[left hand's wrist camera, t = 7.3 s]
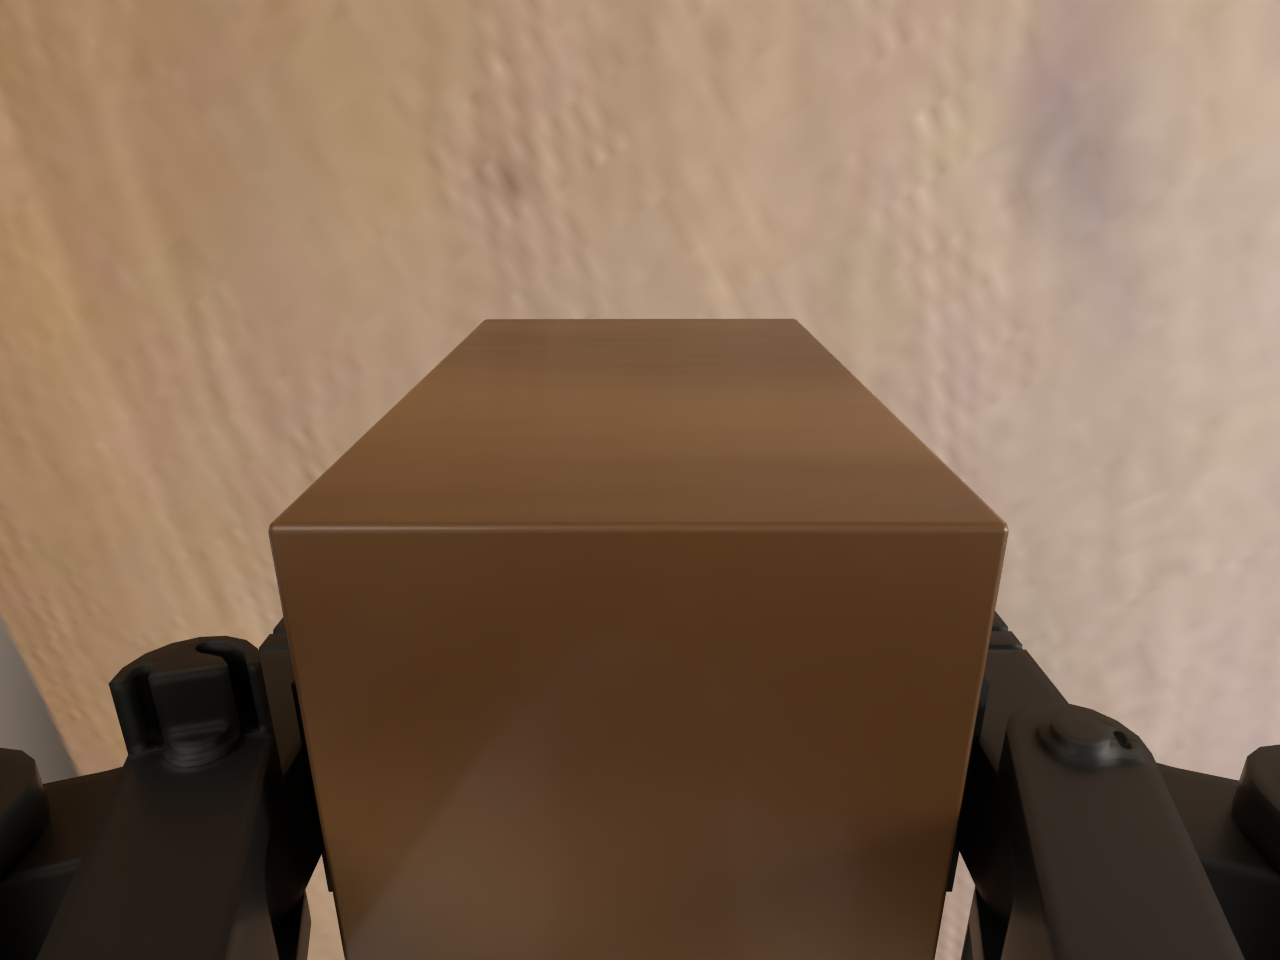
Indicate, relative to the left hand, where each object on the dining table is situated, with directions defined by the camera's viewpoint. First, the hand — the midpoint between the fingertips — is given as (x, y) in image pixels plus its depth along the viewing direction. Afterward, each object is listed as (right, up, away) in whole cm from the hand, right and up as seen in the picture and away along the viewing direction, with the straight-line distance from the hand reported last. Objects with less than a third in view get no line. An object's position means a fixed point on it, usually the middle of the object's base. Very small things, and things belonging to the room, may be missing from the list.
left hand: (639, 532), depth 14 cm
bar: (0, -9, +4) cm, 10 cm away
